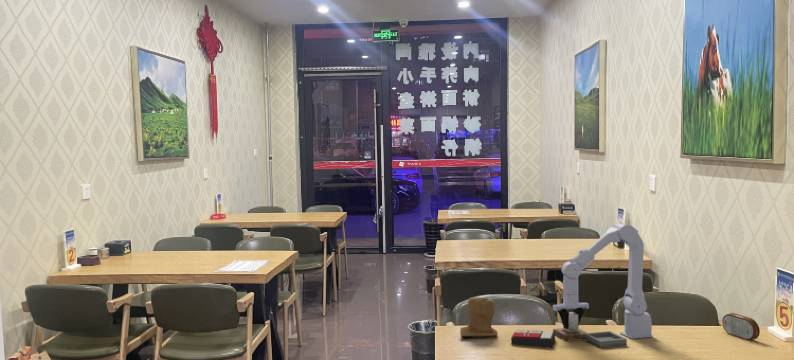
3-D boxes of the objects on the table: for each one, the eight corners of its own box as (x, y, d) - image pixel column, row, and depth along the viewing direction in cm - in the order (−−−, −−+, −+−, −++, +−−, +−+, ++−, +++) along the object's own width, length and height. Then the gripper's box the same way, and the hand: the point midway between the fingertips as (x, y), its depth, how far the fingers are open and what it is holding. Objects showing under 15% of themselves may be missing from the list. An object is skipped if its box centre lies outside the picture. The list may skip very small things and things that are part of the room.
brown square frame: (575, 331, 251) (575, 326, 251) (589, 338, 242) (589, 333, 241) (553, 333, 249) (553, 328, 249) (565, 341, 239) (565, 335, 239)
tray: (609, 337, 243) (609, 331, 243) (626, 345, 232) (626, 338, 232) (584, 339, 240) (584, 333, 240) (600, 348, 230) (600, 341, 230)
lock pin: (572, 334, 248) (572, 311, 247) (578, 337, 244) (578, 314, 243) (563, 335, 247) (563, 312, 246) (568, 338, 243) (568, 315, 242)
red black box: (515, 328, 246) (554, 329, 241) (515, 339, 246) (555, 340, 241) (510, 335, 236) (551, 337, 231) (511, 347, 236) (552, 348, 231)
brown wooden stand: (493, 330, 255) (493, 293, 254) (499, 339, 243) (499, 300, 242) (456, 331, 254) (456, 294, 254) (460, 340, 243) (460, 301, 242)
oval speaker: (760, 342, 235) (760, 319, 234) (754, 343, 234) (754, 320, 233) (726, 331, 249) (726, 310, 249) (720, 332, 248) (720, 311, 248)
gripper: (582, 289, 250) (582, 323, 251) (548, 292, 247) (549, 326, 247) (591, 293, 243) (591, 328, 244) (557, 296, 240) (557, 331, 240)
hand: (570, 327), depth 245 cm, fingers closed on lock pin, 4 cm apart
